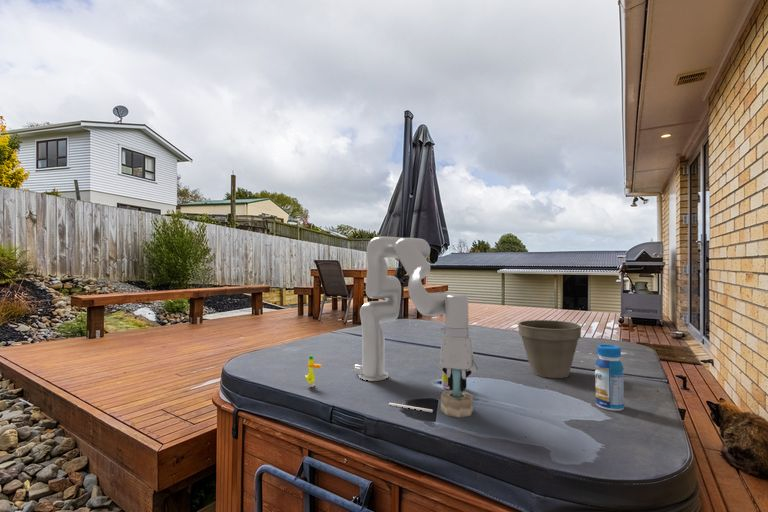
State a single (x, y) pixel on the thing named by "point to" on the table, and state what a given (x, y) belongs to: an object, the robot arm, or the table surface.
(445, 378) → the supplement bottle
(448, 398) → the tan faceted bowl
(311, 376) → the toy figure
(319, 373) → the table surface
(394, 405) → the white flute
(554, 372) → the plant pot
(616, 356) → the beverage bottle
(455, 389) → the needle dowel
